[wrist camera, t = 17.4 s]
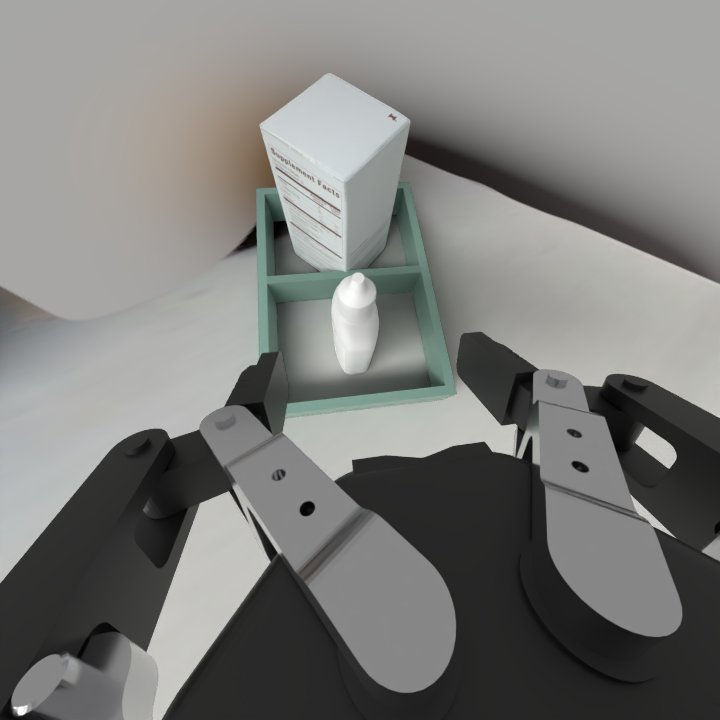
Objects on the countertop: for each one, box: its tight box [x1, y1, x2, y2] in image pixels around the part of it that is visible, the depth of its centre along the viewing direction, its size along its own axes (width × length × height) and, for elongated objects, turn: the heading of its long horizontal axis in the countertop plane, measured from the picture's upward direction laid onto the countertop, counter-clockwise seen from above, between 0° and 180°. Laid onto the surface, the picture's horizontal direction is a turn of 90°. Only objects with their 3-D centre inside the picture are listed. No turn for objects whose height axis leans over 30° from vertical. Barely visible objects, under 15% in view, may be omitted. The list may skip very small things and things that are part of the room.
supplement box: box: [260, 73, 410, 272], centre depth 23 cm, size 7×7×13 cm
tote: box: [256, 182, 457, 418], centre depth 26 cm, size 16×23×4 cm
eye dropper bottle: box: [331, 272, 379, 374], centre depth 20 cm, size 4×6×12 cm
